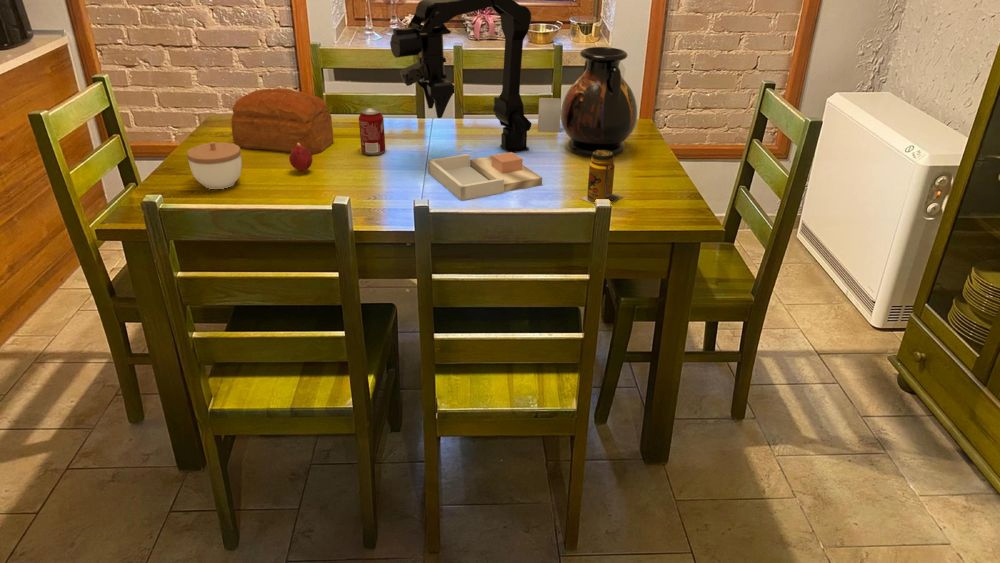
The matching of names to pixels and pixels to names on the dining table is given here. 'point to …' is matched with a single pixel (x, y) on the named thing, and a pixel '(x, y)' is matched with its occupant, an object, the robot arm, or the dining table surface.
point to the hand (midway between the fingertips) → (434, 113)
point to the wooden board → (506, 174)
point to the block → (507, 162)
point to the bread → (281, 121)
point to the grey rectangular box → (549, 115)
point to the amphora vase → (599, 105)
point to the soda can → (372, 131)
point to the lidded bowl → (215, 164)
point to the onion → (300, 158)
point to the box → (463, 177)
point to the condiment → (601, 177)
